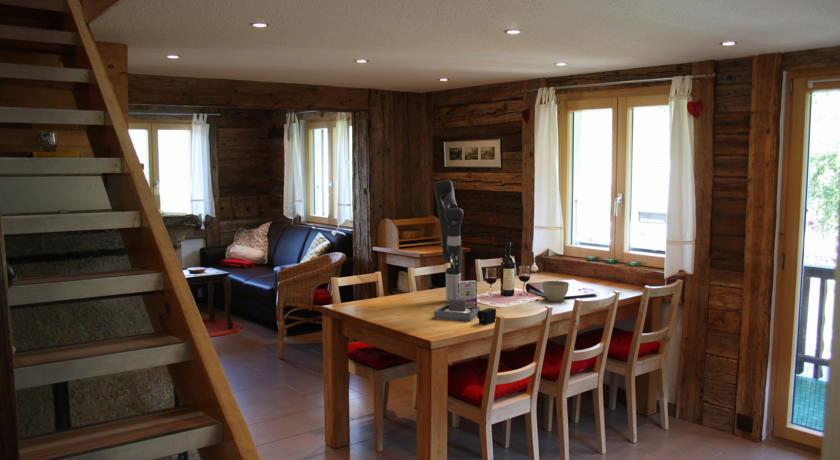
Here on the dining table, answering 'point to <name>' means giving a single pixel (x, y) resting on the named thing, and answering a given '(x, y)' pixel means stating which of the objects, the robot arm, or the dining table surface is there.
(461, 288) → the candy bar box
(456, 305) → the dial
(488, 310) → the digital camera
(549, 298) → the planter bowl
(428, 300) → the dining table surface
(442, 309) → the dial housing
